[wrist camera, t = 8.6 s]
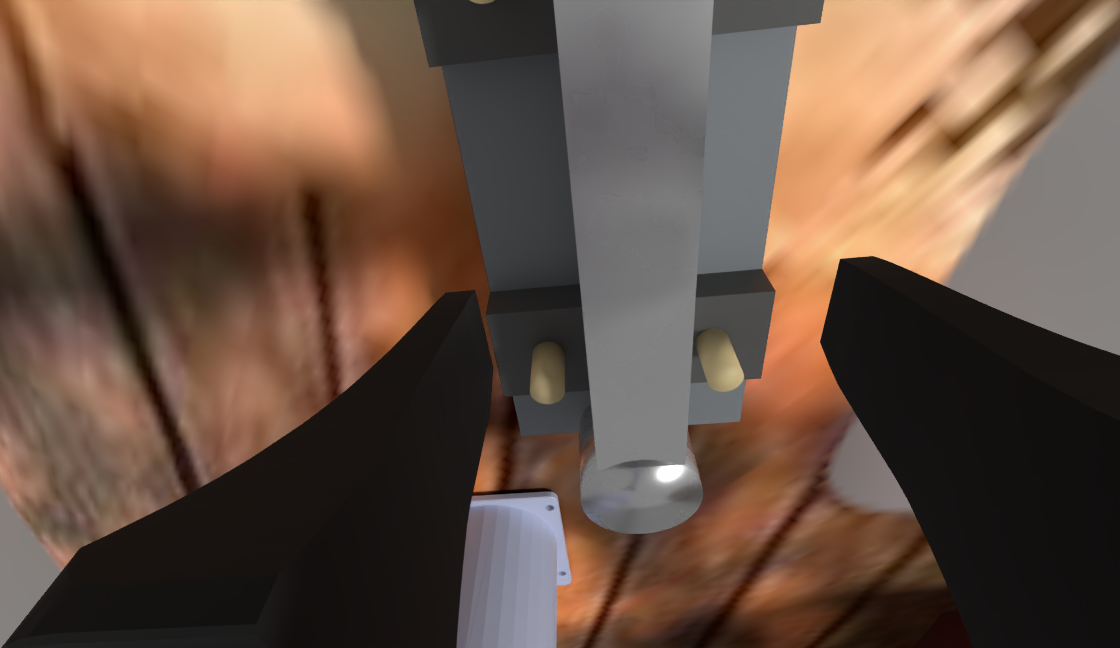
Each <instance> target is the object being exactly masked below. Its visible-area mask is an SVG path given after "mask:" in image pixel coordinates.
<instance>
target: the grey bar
mask: <svg viewBox="0 0 1120 648" xmlns="http://www.w3.org/2000/svg"><path fill="white" fill-rule="evenodd" d="M553 2H554V12H555V23H556V34H557V45H558V55H559V66H560V77H561V87H562V98H563V109H564V119H565V130H566V141H567V151H568V162H569V173H570V183H571V194H572V205H573V215H574V226H575V237H576V248H577V258H578V269H579V280H580V290H581V301H582V312H583V322H584V333H585V344H586V354H587V365H588V376H589V386H590V397H591V404H590V405H589V406H588V407H587V408H586V409H585V410H584V412H583V414H582V415H581V418H580V421H579V453H580V484H581V504H582V508H583V510H584V512H585V513H586V515H587V516H588V517H589V518H590V519H591V520H592V521H593V522H595V523H596V524H598V525H600V526H602V527H604V528H606V529H609V530H612V531H616V532H621V533H630V534H644V533H653V532H658V531H662V530H666V529H669V528H672V527H674V526H676V525H678V524H680V523H682V522H684V521H685V520H687V519H688V518H689V517H691V516H692V515H693V514H694V513H695V512H696V511H697V509H698V508H699V506H700V504H701V502H702V499H703V488H702V484H701V480H700V476H699V472H698V469H697V465H696V461H695V457H694V453H693V449H692V445H691V441H690V437H689V433H688V414H689V398H690V382H691V365H692V349H693V332H694V316H695V300H696V283H697V267H698V250H699V234H700V217H701V201H702V185H703V168H704V152H705V135H706V119H707V103H708V86H709V70H710V53H711V37H712V21H713V4H714V0H553Z"/></svg>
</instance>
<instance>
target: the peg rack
mask: <svg viewBox="0 0 1120 648" xmlns="http://www.w3.org/2000/svg"><path fill="white" fill-rule="evenodd" d="M414 3H415V7H416V12H417V16H418V20H419V25H420V29H421V34H422V38H423V42H424V47H425V51H426V55H427V60H428V64H429V67H436V66H442V69H443V73H444V78H445V83H446V87H447V92H448V97H449V101H450V106H451V111H452V115H453V120H454V125H455V129H456V134H457V138H458V143H459V148H460V152H461V157H462V162H463V166H464V171H465V176H466V180H467V185H468V190H469V194H470V199H471V204H472V208H473V213H474V218H475V222H476V227H477V232H478V236H479V241H480V246H481V250H482V255H483V260H484V264H485V269H486V274H487V278H488V283H489V288H490V296H489V301H488V306H487V311H486V318H487V323H488V327H489V332H490V336H491V340H492V345H493V349H494V354H495V358H496V362H497V367H498V371H499V375H500V380H501V384H502V389H503V393H504V397H508V396H513V399H514V404H515V409H516V413H517V418H518V423H519V427H520V432H521V436H529V435H544V434H559V433H574V432H579V421H580V418H581V415H582V414H583V412H584V410H585V409H586V408H587V407H588V406H589V405H590V404H591V397H590V386H589V376H588V365H587V354H586V344H585V333H584V322H583V312H582V301H581V290H580V280H579V269H578V258H577V248H576V237H575V226H574V215H573V205H572V194H571V183H570V173H569V162H568V151H567V141H566V130H565V119H564V109H563V98H562V87H561V77H560V66H559V55H558V45H557V34H556V23H555V12H554V2H553V0H414ZM823 4H824V0H714V4H713V21H712V37H711V53H710V70H709V86H708V103H707V119H706V135H705V152H704V168H703V185H702V201H701V217H700V234H699V250H698V267H697V283H696V300H695V316H694V332H693V349H692V365H691V382H690V398H689V414H688V425H694V424H709V423H724V422H739V421H740V417H741V410H742V403H743V397H744V390H745V383H746V379H759V378H761V375H762V369H763V363H764V357H765V351H766V345H767V339H768V333H769V327H770V321H771V315H772V309H773V303H774V297H775V290H774V288H773V286H772V285H771V283H770V281H769V280H768V278H767V276H766V275H765V273H764V271H763V270H762V265H763V258H764V251H765V244H766V238H767V231H768V224H769V217H770V210H771V203H772V196H773V189H774V182H775V175H776V168H777V161H778V155H779V148H780V141H781V134H782V127H783V120H784V113H785V106H786V99H787V92H788V85H789V78H790V72H791V65H792V58H793V51H794V44H795V37H796V30H797V26H798V25H807V24H815V23H820V22H821V16H822V10H823Z"/></svg>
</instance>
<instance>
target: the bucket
mask: <svg viewBox="0 0 1120 648" xmlns="http://www.w3.org/2000/svg"><path fill="white" fill-rule="evenodd" d="M914 648H973V646H972V644H971V642H970V639H969V637H968V634H967V632H966V629H965V627H964V624H963V622H962V619H961V617H960V614H959V612H958V610H955V611H951V612H948V613H944V614H942V615H941V616H940V617H939V618H938V620H937V621H936V622H935V623H934V624H933V626H932V627H931V628H930V629H929V630H928V631H927V633H926V634H925V635H924V636H923V637H922V639H921V640H920V641H919V642H918V643H917V645H916V646H915V647H914Z"/></svg>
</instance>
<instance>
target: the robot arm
mask: <svg viewBox="0 0 1120 648" xmlns="http://www.w3.org/2000/svg"><path fill="white" fill-rule="evenodd" d="M820 343H821V345H822V348H823V350H824V353H825V355H826V358H827V361H828V363H829V366H830V368H831V370H832V372H833V375H834V377H835V379H836V381H837V383H838V385H839V387H840V389H841V390H842V392H843V394H844V395H845V397H846V399H847V400H848V402H849V404H850V405H851V407H852V409H853V410H854V412H855V414H856V415H857V417H858V418H859V420H860V422H861V423H862V425H863V427H864V428H865V430H866V431H867V433H868V434H869V436H870V438H871V439H872V441H873V442H874V444H875V446H876V447H877V449H878V450H879V452H880V454H881V455H882V457H883V458H884V460H885V462H886V463H887V465H888V467H889V468H890V470H891V471H892V473H893V474H894V476H895V478H896V480H897V481H898V483H899V485H900V487H901V488H902V490H903V492H904V494H905V496H906V497H907V499H908V501H909V503H910V505H911V508H912V510H913V512H914V514H915V516H916V518H917V520H918V522H919V524H920V526H921V528H922V531H923V533H924V535H925V537H926V539H927V541H928V543H929V545H930V547H931V549H932V552H933V554H934V556H935V559H936V561H937V563H938V565H939V568H940V570H941V572H942V574H943V577H944V579H945V581H946V583H947V586H948V588H949V590H950V593H951V595H952V597H953V599H954V602H955V604H956V607H957V609H958V612H959V614H960V617H961V619H962V622H963V624H964V627H965V629H966V632H967V634H968V637H969V639H970V642H971V644H972V646H973V648H1120V356H1119V355H1116V354H1113V353H1110V352H1107V351H1104V350H1101V349H1098V348H1095V347H1092V346H1089V345H1087V344H1084V343H1081V342H1078V341H1075V340H1073V339H1070V338H1067V337H1064V336H1062V335H1059V334H1057V333H1054V332H1052V331H1049V330H1046V329H1044V328H1041V327H1039V326H1036V325H1034V324H1031V323H1029V322H1026V321H1024V320H1021V319H1019V318H1016V317H1014V316H1012V315H1009V314H1007V313H1004V312H1002V311H1000V310H997V309H995V308H993V307H990V306H988V305H986V304H983V303H981V302H979V301H977V300H974V299H972V298H970V297H968V296H965V295H963V294H961V293H959V292H957V291H954V290H952V289H950V288H948V287H946V286H943V285H941V284H939V283H937V282H934V281H932V280H930V279H928V278H926V277H923V276H921V275H919V274H917V273H914V272H912V271H910V270H908V269H905V268H903V267H901V266H898V265H896V264H893V263H891V262H888V261H886V260H883V259H880V258H877V257H874V256H869V257H857V258H846V259H840V262H839V266H838V270H837V274H836V278H835V283H834V287H833V291H832V295H831V299H830V303H829V307H828V312H827V316H826V320H825V324H824V328H823V332H822V336H821V341H820ZM492 376H493V365H492V360H491V356H490V352H489V348H488V343H487V339H486V335H485V330H484V326H483V322H482V318H481V313H480V309H479V305H478V300H477V296H476V292H475V290H472V291H461V292H449V293H445V294H444V295H443V296H442V297H441V298H440V299H439V300H438V301H437V302H436V303H435V304H434V305H433V306H432V307H431V308H430V309H429V310H428V311H427V312H426V313H425V315H424V316H423V317H422V318H421V319H420V320H419V321H418V322H417V323H416V324H415V325H414V326H413V327H412V328H411V329H410V330H409V331H408V332H407V333H406V334H405V335H404V336H403V338H402V339H401V340H400V341H399V342H398V343H397V344H396V345H395V346H394V347H393V348H392V349H391V350H390V351H389V352H388V353H387V354H385V355H384V356H383V357H382V358H381V359H380V360H379V361H378V362H377V363H376V364H375V365H374V366H372V367H371V368H370V369H369V370H368V371H367V372H366V373H365V374H364V375H363V376H362V377H361V378H360V379H358V380H357V381H356V382H355V383H354V384H353V385H352V386H350V387H349V388H348V389H347V390H346V391H345V392H343V393H342V394H341V395H340V396H338V397H337V398H336V399H335V400H333V401H332V402H331V403H330V404H328V405H327V406H326V407H324V408H323V409H322V410H320V411H319V412H318V413H317V414H315V415H314V416H313V417H311V418H310V419H309V420H307V421H306V422H304V423H303V424H302V425H300V426H299V427H297V428H296V429H294V430H293V431H291V432H290V433H288V434H287V435H285V436H284V437H282V438H281V439H279V440H278V441H276V442H275V443H273V444H272V445H270V446H269V447H267V448H266V449H264V450H263V451H261V452H260V453H258V454H257V455H255V456H254V457H252V458H250V459H249V460H247V461H246V462H244V463H242V464H241V465H239V466H237V467H236V468H234V469H232V470H230V471H229V472H227V473H225V474H224V475H222V476H220V477H219V478H217V479H215V480H213V481H211V482H210V483H208V484H206V485H204V486H203V487H201V488H199V489H197V490H195V491H194V492H192V493H190V494H188V495H186V496H184V497H183V498H181V499H179V500H177V501H175V502H173V503H171V504H169V505H168V506H166V507H164V508H162V509H159V510H157V511H155V512H153V513H151V514H149V515H147V516H145V517H143V518H141V519H139V520H137V521H135V522H133V523H131V524H129V525H127V526H125V527H123V528H121V529H119V530H117V531H115V532H113V533H111V534H109V535H107V536H105V537H103V538H101V539H99V540H96V541H94V542H92V543H90V544H88V545H86V546H84V547H81V548H80V549H79V550H78V551H77V553H76V554H75V555H74V557H73V558H72V559H71V560H70V562H69V563H68V564H67V565H66V567H65V568H64V569H63V570H62V572H61V573H60V574H59V576H58V577H57V578H56V579H55V581H54V582H53V583H52V585H51V586H50V587H49V588H48V590H47V591H46V592H45V593H44V595H43V596H42V597H41V598H40V600H39V601H38V602H37V603H36V605H35V606H34V607H33V609H32V610H31V611H30V612H29V614H28V615H27V616H26V617H25V619H24V620H23V621H22V622H21V624H20V625H19V626H18V627H17V629H16V630H15V631H14V633H13V634H12V635H11V636H10V638H9V639H8V640H7V642H6V643H5V644H4V645H3V646H2V648H556V621H557V586H559V585H568V584H569V583H571V572H570V566H569V560H568V554H567V549H566V543H565V537H564V531H563V525H562V519H561V514H560V508H559V502H558V497H557V495H556V494H555V493H553V492H531V493H514V494H497V495H480V496H472V495H473V490H474V485H475V480H476V476H477V471H478V466H479V461H480V457H481V452H482V447H483V442H484V437H485V432H486V427H487V422H488V417H489V412H490V405H491V392H492Z"/></svg>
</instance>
